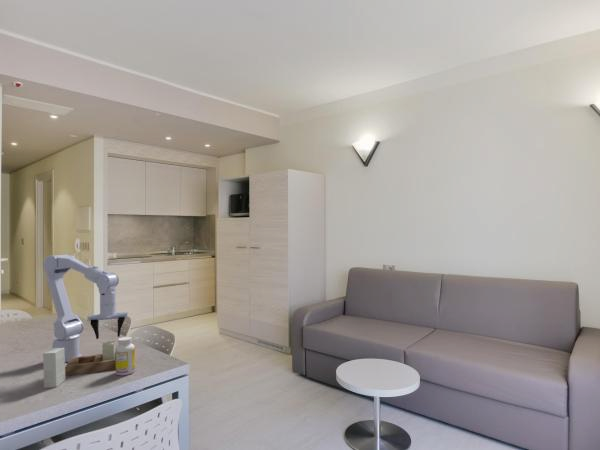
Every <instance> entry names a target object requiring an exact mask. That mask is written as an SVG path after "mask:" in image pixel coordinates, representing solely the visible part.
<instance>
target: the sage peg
mask: <svg viewBox="0 0 600 450" xmlns="http://www.w3.org/2000/svg"><path fill="white" fill-rule="evenodd" d="M101 348H102V354H103V361H106V360H113V359H115V349H116V347H115V341H114V340H113V341H107V342H106V341H105V342H103V343H102V347H101Z"/></svg>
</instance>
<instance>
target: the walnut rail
mask: <svg viewBox="0 0 600 450" xmlns="http://www.w3.org/2000/svg"><path fill="white" fill-rule="evenodd" d="M66 363H67V364H65V377H66V376H67V377H68V376H75V375H82V374H89V373H94V372H96V373H97V372H102V371H109V370H110V371H111V370H116V357H115V359H113V360H106V361H103V353H100V354H98V353H97V354H90V355H83V356H82V355H81V357H73V358H70V360H69V362H66Z"/></svg>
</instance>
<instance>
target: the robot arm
mask: <svg viewBox="0 0 600 450" xmlns="http://www.w3.org/2000/svg"><path fill="white" fill-rule="evenodd" d="M42 266H43V269H44V272H45V277H46V278H45V279H46V282H47V284H48V285H47V286H48V288H49V293H50V295H51V299H52V303H53V305H54V308H55V312H56V315H57V318H56V320H54V322H53V324H52V325H53V329H54V330H53V335H54V337H55V338H56V339H54V340H53V341H52V347H51V349H52V348H64V350H65V363H68V362H69V360H70V358H73V357H81V356H82V355H83V354H82V353H80V336H82V335H81V334H82V333H83V331H84V328H85V327H84V323H83V321H82V320H81V319H80V315H78V314H76V313H73V309H72V306H71V302H70V299H69V295H68V293H67V289H66V286H65V283H64V280H63V278H64V276H65V275H66V274H67V273H68V272H69V271H70V270H71V269H72V270H74V271H76V272H79V273H81V274H83V277H84V278H85V279H87V280H88V281H90V282H92V283H94V284H95V285H96V287H97V289H98V293H99V314H93V315H92V314H90V315H88V316H87V319H86V320H87V322H90V326H91V328H92V329H93V332H94V334H95V335H94V336H95V337H96V338H95V339H96V340H98V339H100V334H99V333H100V332H99V321H104V320H105V321H106V320H115V319H116V320H117V334H116V335H117V337H118V338H119V337H120V336H121V331H122V330H121V329H122V327H123V324H124V322H125V320H126V319H128V317H129V315H128V314H129V313H128V312H117V310H116V309H117V307H116V306H117V304H116V303H117V301H116V300H117V299H116V296H117V295H116V291H117V289H116V287H117V286H118V284H119V282H120V280H119V279H120V278H119V277H118V275H117V274H116V273H115V272H110V273H108V271H106V270H103V269H100V268H99V266H98V265H91V266H89V265H87V264H85V262H82V261H80V260H79V259H78V258H76V256H75V255H72V254H70V253H66V254H57V255H52V254H51V255H47V257H46V258H45V259H44V261H43V263H42ZM120 338H121V337H120Z"/></svg>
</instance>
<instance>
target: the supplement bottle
mask: <svg viewBox="0 0 600 450" xmlns="http://www.w3.org/2000/svg"><path fill="white" fill-rule="evenodd" d="M132 341H133V339H132V337H131V336H122V337H120V338H119V337H118V339H117V343H118V345H117V346H116V347H115V357H116V369H115V375H117V376H127V375H130V374H133V373H134V372H135V371H136V348H135V345H134V343H132Z"/></svg>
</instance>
